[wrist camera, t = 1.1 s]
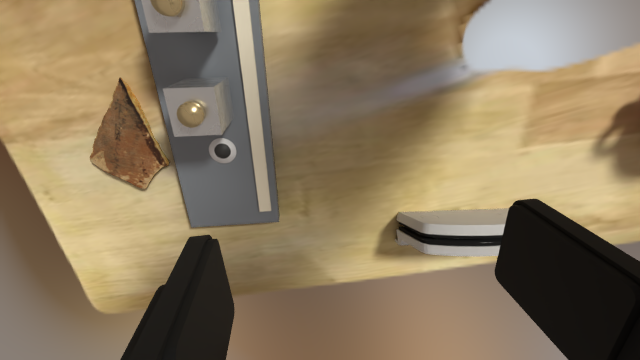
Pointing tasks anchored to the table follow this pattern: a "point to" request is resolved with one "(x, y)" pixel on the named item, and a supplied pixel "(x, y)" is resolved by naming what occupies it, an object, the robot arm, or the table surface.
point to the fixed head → (181, 16)
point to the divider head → (199, 106)
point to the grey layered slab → (453, 231)
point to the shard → (127, 141)
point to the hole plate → (243, 131)
